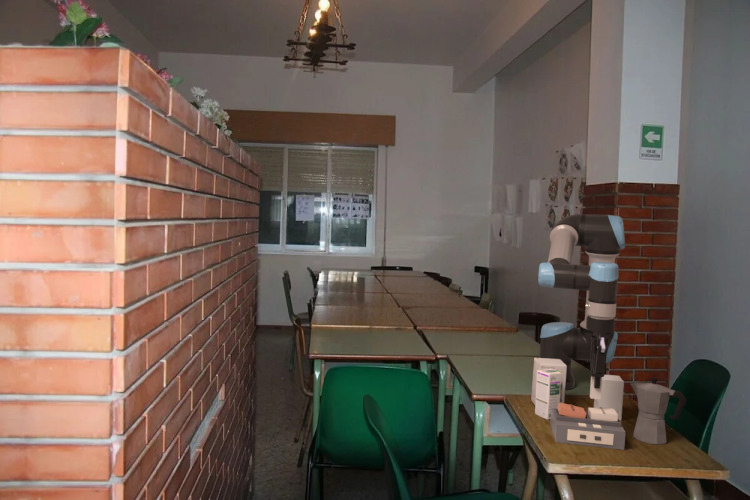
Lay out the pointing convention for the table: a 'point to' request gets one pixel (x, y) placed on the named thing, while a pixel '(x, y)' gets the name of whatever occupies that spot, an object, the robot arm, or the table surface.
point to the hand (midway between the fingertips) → (595, 398)
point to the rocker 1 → (571, 410)
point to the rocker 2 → (603, 414)
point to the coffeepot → (654, 411)
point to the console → (587, 431)
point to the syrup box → (548, 391)
